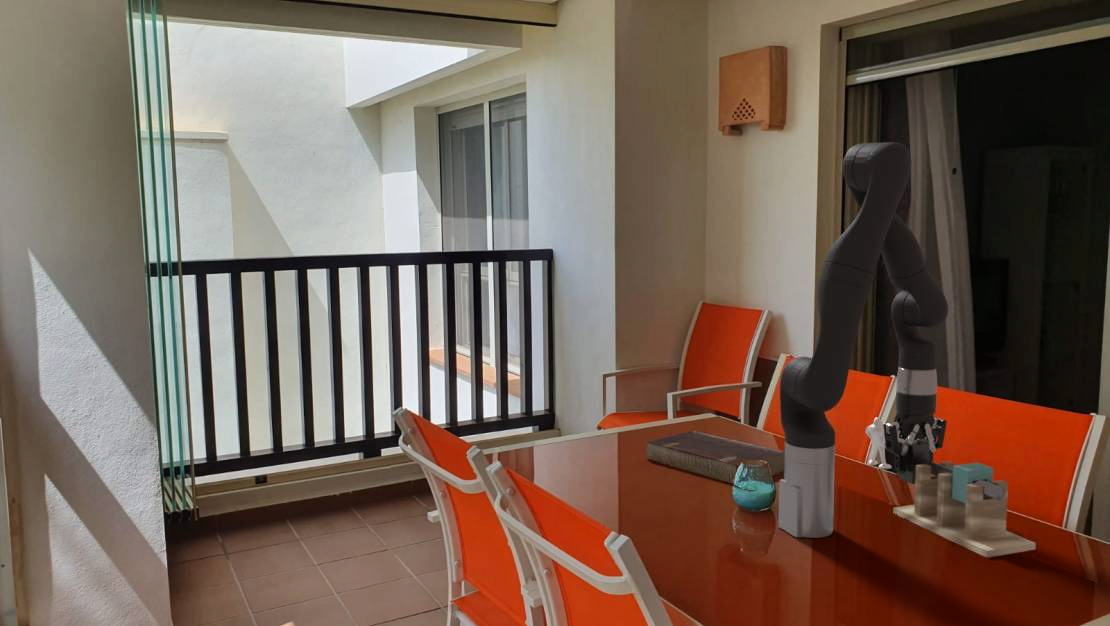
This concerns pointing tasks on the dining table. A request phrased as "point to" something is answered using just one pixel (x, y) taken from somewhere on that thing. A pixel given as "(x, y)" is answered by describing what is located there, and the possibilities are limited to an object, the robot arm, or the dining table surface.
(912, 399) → the robot arm
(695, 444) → the hardback book
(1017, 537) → the bracket
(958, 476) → the block
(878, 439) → the figurine
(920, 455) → the shaft
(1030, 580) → the dining table surface
